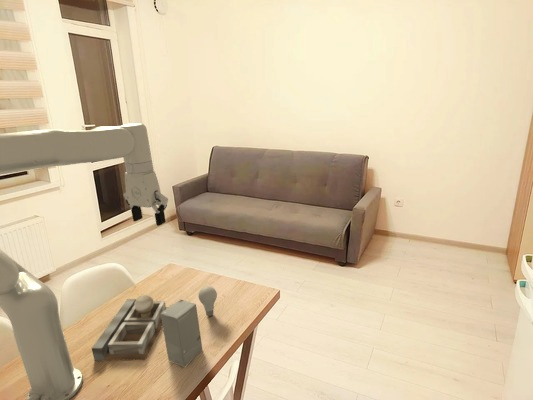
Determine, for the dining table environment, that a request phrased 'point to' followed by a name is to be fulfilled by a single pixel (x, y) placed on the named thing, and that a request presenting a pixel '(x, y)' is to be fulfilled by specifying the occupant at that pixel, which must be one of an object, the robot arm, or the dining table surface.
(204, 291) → the lightbulb
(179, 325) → the skincare box
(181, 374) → the dining table surface
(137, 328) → the compartment tray
